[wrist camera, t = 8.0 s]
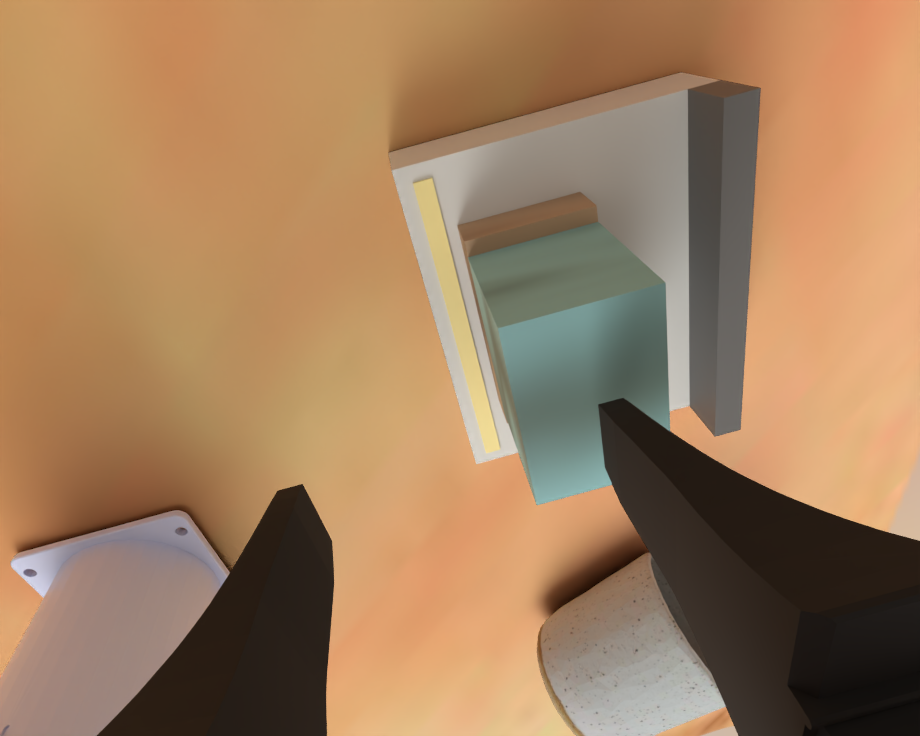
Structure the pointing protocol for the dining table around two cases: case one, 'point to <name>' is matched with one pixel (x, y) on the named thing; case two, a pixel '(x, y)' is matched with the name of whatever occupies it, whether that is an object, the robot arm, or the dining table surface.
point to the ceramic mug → (625, 658)
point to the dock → (604, 225)
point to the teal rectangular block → (566, 335)
